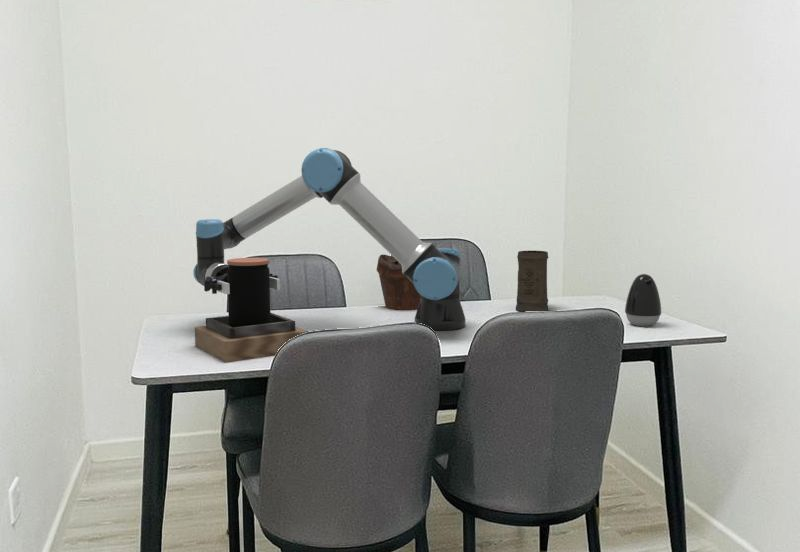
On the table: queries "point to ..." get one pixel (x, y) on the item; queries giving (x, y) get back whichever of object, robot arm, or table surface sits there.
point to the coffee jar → (248, 291)
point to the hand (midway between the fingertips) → (253, 286)
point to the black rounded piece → (643, 302)
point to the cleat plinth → (244, 338)
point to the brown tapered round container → (396, 285)
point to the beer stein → (532, 281)
